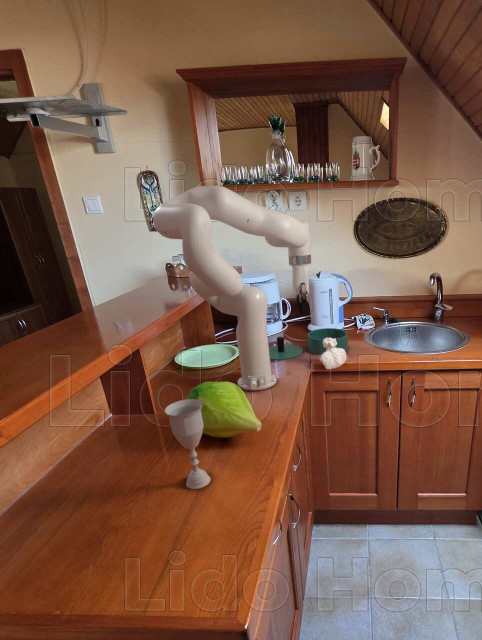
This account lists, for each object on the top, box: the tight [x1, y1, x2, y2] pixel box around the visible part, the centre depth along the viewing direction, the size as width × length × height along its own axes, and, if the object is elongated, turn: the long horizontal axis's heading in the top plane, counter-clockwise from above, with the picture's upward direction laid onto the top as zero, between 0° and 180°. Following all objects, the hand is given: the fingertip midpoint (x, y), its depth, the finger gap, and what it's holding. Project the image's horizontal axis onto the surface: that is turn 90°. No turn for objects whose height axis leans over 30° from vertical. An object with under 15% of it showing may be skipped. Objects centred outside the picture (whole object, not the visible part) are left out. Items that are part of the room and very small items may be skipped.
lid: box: [269, 336, 304, 361], centre depth 162 cm, size 17×17×7 cm
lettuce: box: [185, 381, 263, 439], centre depth 106 cm, size 15×22×15 cm
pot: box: [306, 327, 349, 356], centre depth 165 cm, size 16×16×6 cm
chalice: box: [164, 398, 211, 490], centre depth 87 cm, size 7×7×18 cm
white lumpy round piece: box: [319, 338, 347, 370], centre depth 148 cm, size 12×8×11 cm
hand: (302, 310), depth 149 cm, fingers open, 9 cm apart
